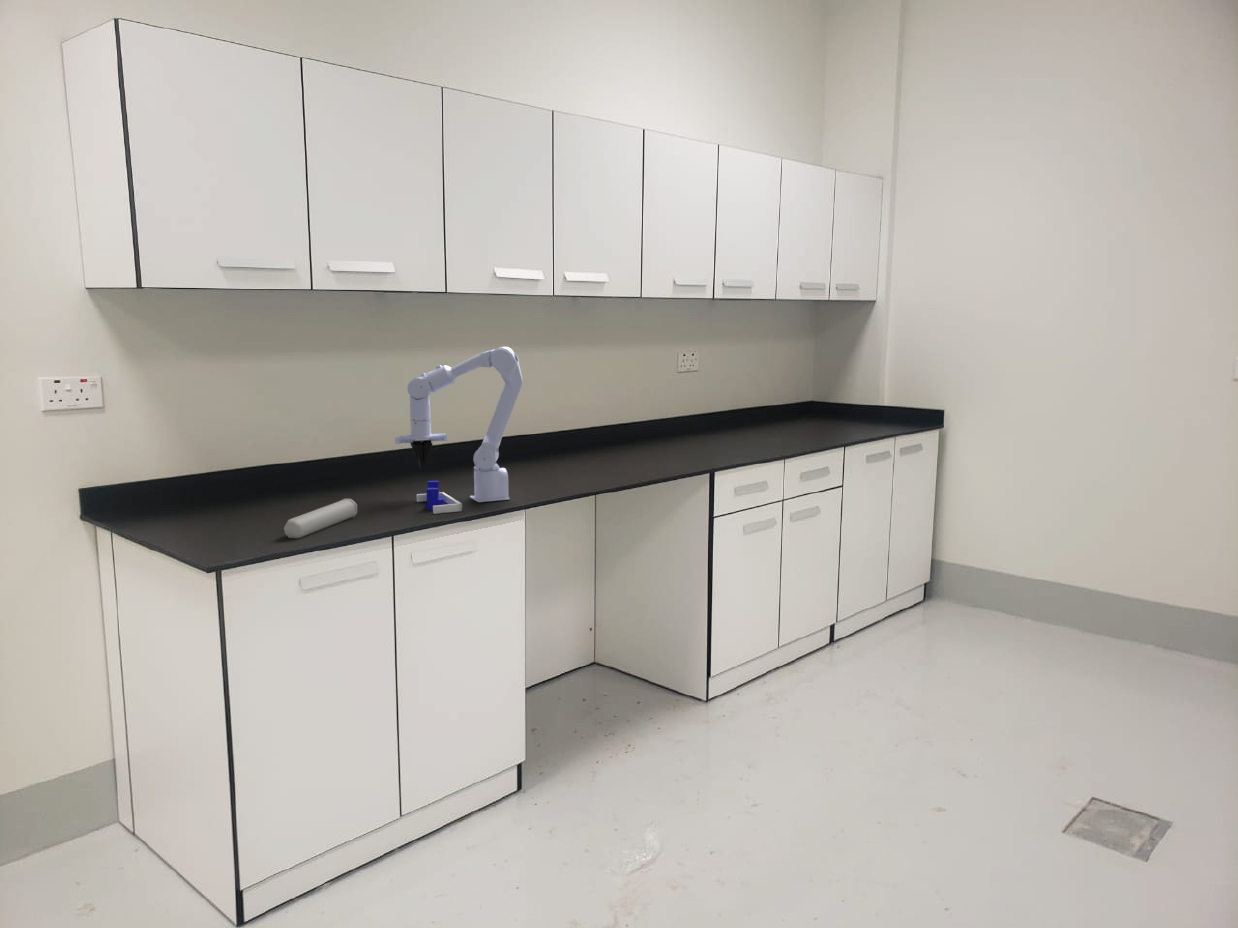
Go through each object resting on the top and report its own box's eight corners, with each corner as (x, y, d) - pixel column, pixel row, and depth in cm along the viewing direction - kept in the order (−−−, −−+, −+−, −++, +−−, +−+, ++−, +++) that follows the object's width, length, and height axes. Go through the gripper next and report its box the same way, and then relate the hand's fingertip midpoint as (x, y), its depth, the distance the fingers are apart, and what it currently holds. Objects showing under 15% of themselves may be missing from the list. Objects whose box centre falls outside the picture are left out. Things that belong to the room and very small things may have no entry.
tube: (301, 525, 206) (359, 502, 229) (281, 516, 207) (342, 495, 231) (296, 545, 207) (355, 521, 231) (277, 536, 208) (337, 513, 232)
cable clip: (443, 510, 240) (443, 488, 239) (427, 510, 239) (426, 489, 238) (444, 501, 252) (443, 480, 251) (428, 501, 251) (427, 481, 250)
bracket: (443, 498, 254) (443, 492, 254) (462, 510, 238) (461, 503, 238) (416, 501, 250) (416, 494, 250) (433, 513, 235) (433, 506, 235)
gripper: (441, 417, 256) (442, 463, 259) (391, 419, 250) (393, 466, 252) (448, 419, 250) (449, 466, 253) (397, 422, 243) (399, 470, 246)
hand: (422, 467), depth 252 cm, fingers closed
